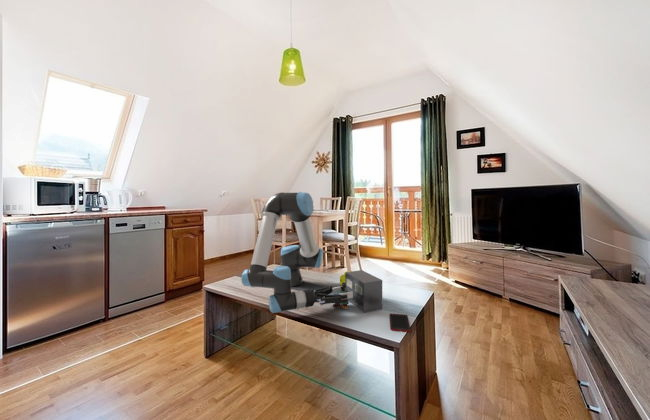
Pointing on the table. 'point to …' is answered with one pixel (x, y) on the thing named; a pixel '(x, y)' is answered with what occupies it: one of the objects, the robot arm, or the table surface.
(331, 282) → the table surface
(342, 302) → the binoculars
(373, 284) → the box
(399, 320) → the cell phone
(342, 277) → the yellow toy chassis
